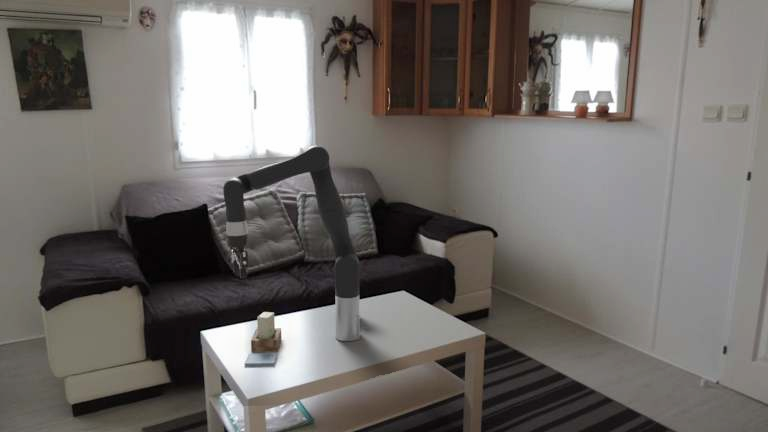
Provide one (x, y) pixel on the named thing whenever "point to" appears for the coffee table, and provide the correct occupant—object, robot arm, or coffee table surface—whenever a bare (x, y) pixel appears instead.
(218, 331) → the coffee table surface
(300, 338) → the coffee table surface
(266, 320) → the skincare box
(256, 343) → the pocket block
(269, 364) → the pad
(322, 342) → the coffee table surface
